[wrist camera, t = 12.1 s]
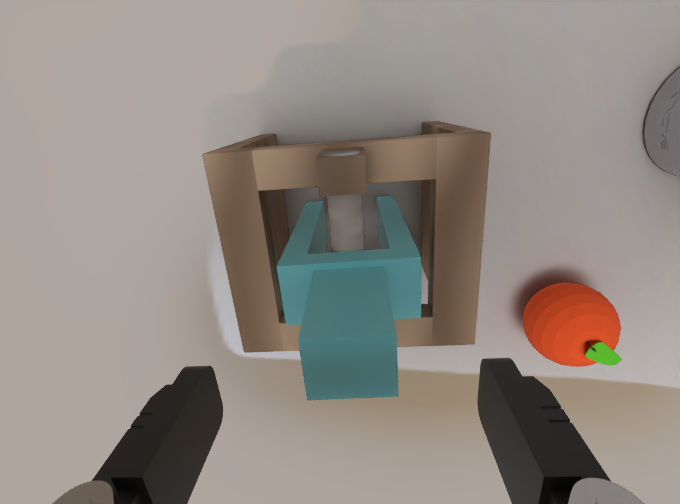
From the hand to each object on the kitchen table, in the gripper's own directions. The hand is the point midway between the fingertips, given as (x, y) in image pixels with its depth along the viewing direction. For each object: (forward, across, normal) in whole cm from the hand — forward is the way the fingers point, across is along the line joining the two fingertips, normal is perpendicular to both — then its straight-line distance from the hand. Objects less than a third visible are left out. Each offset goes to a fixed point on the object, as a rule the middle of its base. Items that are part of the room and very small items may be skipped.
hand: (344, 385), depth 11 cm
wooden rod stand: (+22, 0, 0) cm, 22 cm away
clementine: (+22, -18, +11) cm, 30 cm away
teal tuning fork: (+17, 0, 0) cm, 17 cm away
